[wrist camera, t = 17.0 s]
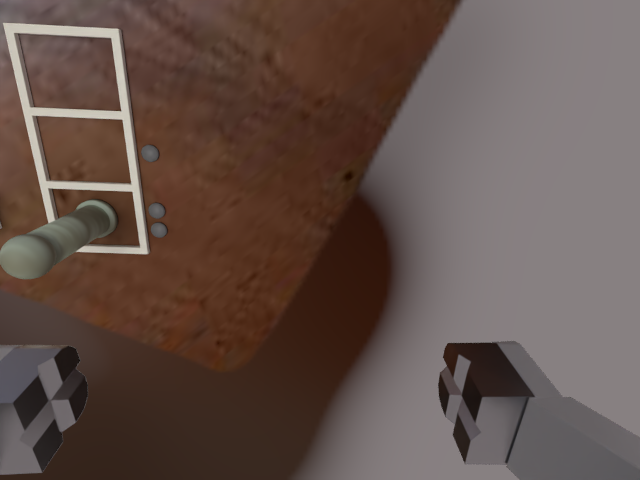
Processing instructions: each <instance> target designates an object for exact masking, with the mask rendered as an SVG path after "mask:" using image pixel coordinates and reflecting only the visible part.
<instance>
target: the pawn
mask: <svg viewBox="0 0 640 480" xmlns="http://www.w3.org/2000/svg"><path fill="white" fill-rule="evenodd" d="M117 224H118V217H117V214H116V212H115V210H114V209H113V207H112V206H111V205H109V204H108V203H106V202H105V201H102V200H99V199H91V200H88V201H86V202H84V203H81V204H80V205H79V206H78V207H77V208H76V210H75V211H73V212H71V213H69V214H67V215H65V216H63V217H61V218H59V219H57V220H55V221H53V222H50V223H48V224H46V225H44V226H42V227H40V228H38V229H36V230H34V231H32V232H30V233H27V234H24V235H19V236H16V237H13V238H12V239H10V240H8V241H7V242H6V243H5V244H4V245H3V247H2V248H1V251H0V264H1V266H2V268H3V269H4V270H5V271H6V272H7V273H8V274H10V275H12V276H14V277H16V278H21V279H33V278H38V277H40V276H43V275H44V274H46V273H47V272H49V271H50V270H51V269H52V267H53V266H54V265H56V264H57V263H59V262H60V261H62V260H63V259H65V258H66V257H68V256H69V255H71V254H72V253H74V252H76V251H77V250H79V249H80V248H82V247H83V246H85V245H86V244H88V243H89V242H91V241H92V240H94V239H96V238H101V237H105V236H107V235H108V234H110V233H111V232H113V231H114V230H115V229H116V227H117Z"/></svg>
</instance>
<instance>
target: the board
mask: <svg viewBox="0 0 640 480" xmlns="http://www.w3.org/2000/svg"><path fill="white" fill-rule="evenodd" d="M3 25H4V29H5V34H6V38H7V42H8V47H9V51H10V55H11V60H12V64H13V69H14V73H15V77H16V82H17V86H18V91H19V95H20V99H21V104H22V108H23V113H24V117H25V121H26V126H27V130H28V135H29V139H30V143H31V148H32V152H33V157H34V161H35V165H36V170H37V174H38V179H39V183H40V187H41V192H42V196H43V201H44V205H45V209H46V214H47V218H48V223H50V222H53V221H55V220H57V219H58V215H57V211H56V206H55V201H54V197H53V192H52V188H53V189H79V190H105V191H131V192H133V198H134V205H135V213H136V220H137V227H138V234H139V242H140V246H130V245H100V244H86V245H85V246H83V247H82V248H80V249H79V250H77V251H76V252H98V253H129V254H149V253H150V249H149V241H148V233H147V226H146V218H145V210H144V202H143V195H142V187H141V179H140V171H139V164H138V156H137V148H136V140H135V133H134V125H133V117H132V109H131V102H130V94H129V86H128V78H127V71H126V63H125V55H124V47H123V39H122V32H121V30H120V29H110V28H91V27H72V26H53V25H34V24H15V23H3ZM18 34H35V35H54V36H73V37H93V38H111V39H112V46H113V54H114V61H115V68H116V75H117V83H118V90H119V97H120V104H121V111H105V110H83V109H61V108H39V107H34V105H33V100H32V95H31V91H30V86H29V81H28V77H27V72H26V68H25V63H24V58H23V54H22V49H21V45H20V40H19V35H18ZM36 116H55V117H77V118H100V119H122V120H123V126H124V133H125V140H126V148H127V155H128V162H129V169H130V177H131V183H109V182H84V181H59V180H50V178H49V174H48V169H47V164H46V160H45V155H44V151H43V146H42V141H41V137H40V132H39V128H38V123H37V118H36ZM141 154H142V157H143V158H144V159H145V160H146V161H149V162H153V161H156V160H157V159H158V157H159V151H158V149H157V148H156V147H155V146H153V145H146V146H144V147H143V148H142V151H141ZM149 214H150V215H151V216H152V217H154V218H161V217H163V216H164V214H165V208H164V207H163V205H161V204H159V203H153V204H152V205H150V207H149ZM151 232H152V234H153V235H154V236H156V237H163V236H165V235H166V234H167V227H166V226H165V225H164V224H163V223H160V222H158V223H155V224H153V225H152V227H151Z"/></svg>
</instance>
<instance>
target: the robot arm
mask: <svg viewBox="0 0 640 480" xmlns="http://www.w3.org/2000/svg"><path fill="white" fill-rule="evenodd" d="M443 358H444V360H445V362H446V365H447V367H446V368H445V369H444V370H443V371H442V372H440V377H439V383H438V388H439V398H440V402H441V407H442V409H443V412H444V414H445V417H446V418H448V419H449V420H450V421H451V422H452V423H454V424H455V427H454V431H453V437H454V439H455V441H456V444H457V446H458V448H459V451H460V453H461V456H462V458H463V461H464V463H465V464H502V465H505V464H506V465H507V468H508V469H509V470H510V471H511V472H512V473H513V474H514V475H515V476H517V477H518V478H519V479H520V480H640V437H638V436H637V435H635V434H633V433H631V432H630V431H628V430H626V429H624V428H623V427H621V426H619V425H618V424H616V423H614V422H612V421H611V420H609V419H607V418H606V417H604V416H602V415H600V414H599V413H597V412H595V411H594V410H592V409H590V408H588V407H587V406H585V405H583V404H582V403H580V402H578V401H576V400H575V399H573V398H571V397H562V395H561V394H560V393H559V392H558V390H557V389H556V388H555V386H554V385H553V384H552V383H551V382H550V380H549V379H548V378H547V377H546V375H545V374H544V373H543V372H542V370H541V369H540V368H539V367H538V366H537V364H536V363H535V362H534V361H533V359H532V358H531V357H530V356H529V354H528V353H527V352H526V351H525V350H524V348H523V347H522V346H521V345H520V344H519V343H517V342H515V341H507V342H506V341H505V342H492V343H448V344H447V346H446V348H445V350H444V356H443ZM79 362H80V358H79V356H78V353H77V350H76V349H75V348H74V347H71V346H60V345H56V346H55V345H54V346H53V345H0V475H2V474H23V473H42V472H43V470H44V469H45V468H46V466H47V465H48V463H49V462H50V460H51V459H52V457H53V456H54V454H55V453H56V451H57V450H58V448H59V447H60V445H61V444H62V442H63V437H62V431H64V430H65V429H67V428H68V427H70V426H71V425H73V424H74V423H76V421H77V420H78V418H79V416H80V415H81V413H82V412H83V410H84V407H85V404H86V400H87V397H88V384H87V381H86V377H85V376H84V375H83V374H82V373H80V372H79V371H78V370H77V369H76V367H77V365H78V364H79Z"/></svg>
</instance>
